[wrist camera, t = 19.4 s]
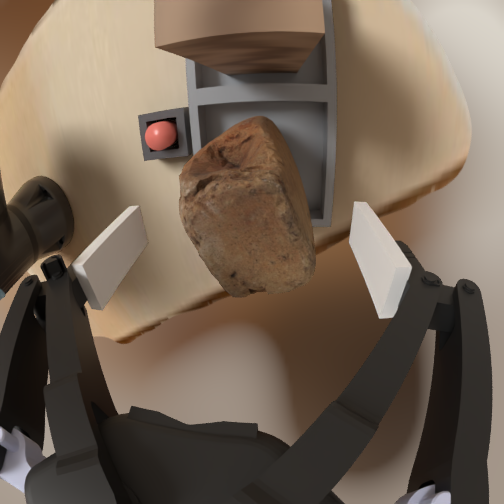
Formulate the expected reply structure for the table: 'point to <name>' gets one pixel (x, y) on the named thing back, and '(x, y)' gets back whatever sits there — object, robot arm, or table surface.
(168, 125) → the button
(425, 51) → the table surface
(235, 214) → the block
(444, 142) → the table surface
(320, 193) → the gray divided tray
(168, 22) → the seated billet
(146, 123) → the button housing
